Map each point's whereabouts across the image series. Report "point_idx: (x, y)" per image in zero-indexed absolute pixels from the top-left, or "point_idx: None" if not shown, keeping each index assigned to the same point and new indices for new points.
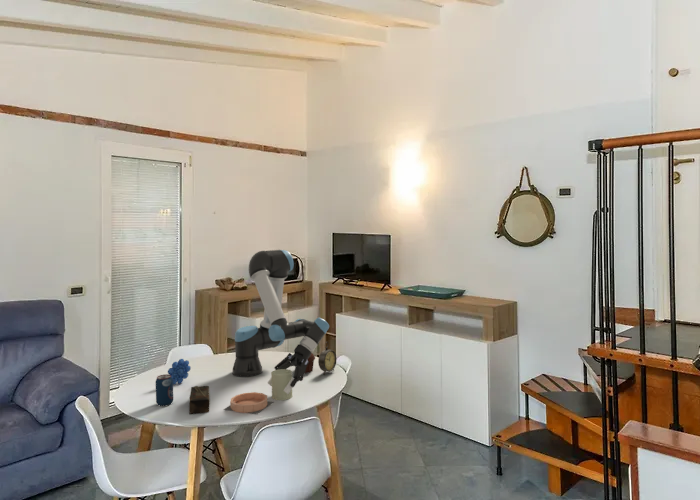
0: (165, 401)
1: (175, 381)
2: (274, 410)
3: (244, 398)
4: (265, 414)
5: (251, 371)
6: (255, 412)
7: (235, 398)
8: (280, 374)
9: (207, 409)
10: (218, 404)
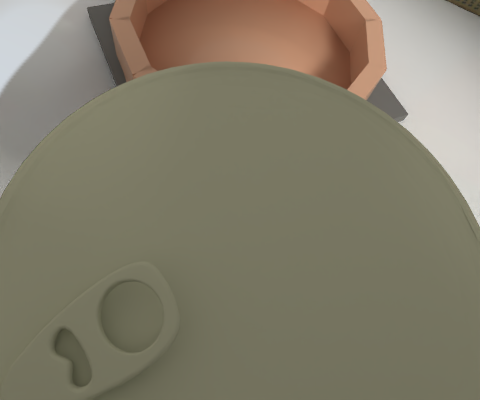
0: None
1: None
2: (52, 117)
3: (353, 80)
4: (58, 50)
5: None
6: None
7: (345, 5)
8: (154, 142)
9: None
10: (406, 15)
